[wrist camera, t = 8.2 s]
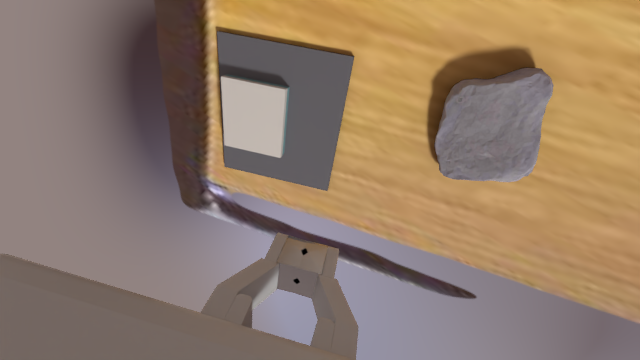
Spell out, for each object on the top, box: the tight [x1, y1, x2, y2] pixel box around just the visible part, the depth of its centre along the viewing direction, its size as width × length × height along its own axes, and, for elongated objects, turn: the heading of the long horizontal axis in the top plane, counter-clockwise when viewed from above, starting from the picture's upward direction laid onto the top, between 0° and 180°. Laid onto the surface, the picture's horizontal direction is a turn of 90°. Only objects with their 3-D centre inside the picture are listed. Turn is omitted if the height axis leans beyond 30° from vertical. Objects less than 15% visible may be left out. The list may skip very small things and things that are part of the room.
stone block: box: [434, 68, 553, 182], centre depth 29 cm, size 12×5×10 cm
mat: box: [217, 31, 354, 191], centre depth 34 cm, size 18×16×1 cm
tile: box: [221, 74, 289, 158], centre depth 33 cm, size 9×2×8 cm
